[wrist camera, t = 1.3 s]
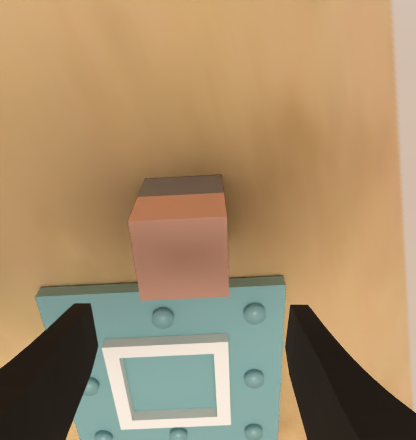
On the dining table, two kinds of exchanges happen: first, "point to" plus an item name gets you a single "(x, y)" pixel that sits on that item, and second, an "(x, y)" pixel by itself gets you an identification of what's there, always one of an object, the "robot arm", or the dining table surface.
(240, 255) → the dining table surface
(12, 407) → the robot arm
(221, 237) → the brick stack
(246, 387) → the baseplate
